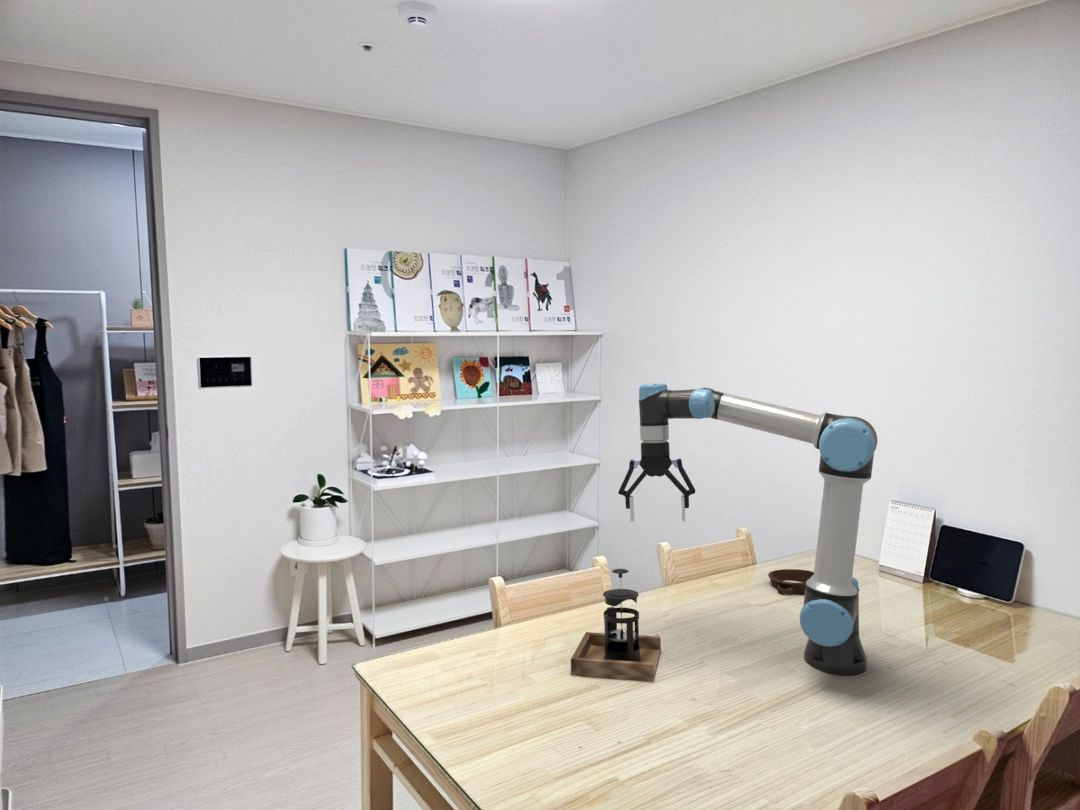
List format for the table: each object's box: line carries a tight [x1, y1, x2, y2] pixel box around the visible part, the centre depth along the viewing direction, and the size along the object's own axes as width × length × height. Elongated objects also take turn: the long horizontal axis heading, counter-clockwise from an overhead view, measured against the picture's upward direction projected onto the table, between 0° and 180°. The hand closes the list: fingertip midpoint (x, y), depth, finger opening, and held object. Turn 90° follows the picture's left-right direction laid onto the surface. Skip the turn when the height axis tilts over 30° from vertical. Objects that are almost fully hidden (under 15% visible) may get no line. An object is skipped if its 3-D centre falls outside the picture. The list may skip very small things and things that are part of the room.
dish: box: [767, 568, 814, 595], centre depth 251 cm, size 18×22×5 cm
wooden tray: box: [570, 631, 662, 683], centre depth 191 cm, size 20×20×4 cm
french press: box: [602, 568, 641, 662], centre depth 191 cm, size 12×9×23 cm
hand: (657, 520), depth 201 cm, fingers open, 13 cm apart
